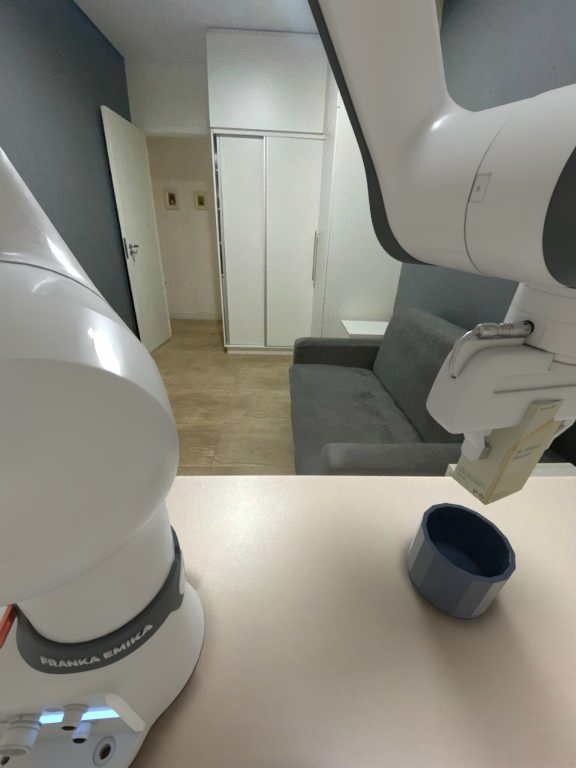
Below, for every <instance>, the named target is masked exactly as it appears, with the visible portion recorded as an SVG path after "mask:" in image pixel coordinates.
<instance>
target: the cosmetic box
mask: <svg viewBox="0 0 576 768" xmlns="http://www.w3.org/2000/svg"><path fill="white" fill-rule="evenodd" d="M563 401H564V400H560V401H542V402H531V404H530V406H529V408H528V409H527V411H526V413H525V415H524V417H523V419H522V421H521V422H520V423H519V424H518V425H517V426H514V427H506V428H498V429H493V430H492V432H491V434H490V435H488V436H484V442H485V443H487V444H488V445H489V446H490V447H491V449H490V451H489V453H488V454H487V457H486V458H485V459H481V460H476V461H470V460H469V459H468V458H467V457H466V456H465V455H464V454H462V453H461V454H460V456H459V458H458V461H457V464H456V466H455V469H454V471H453V473H452V474H451V478H452V479H453V480H454V481H456V482H457V483H458V484H459V485H460V486H461V487H462V488H463V489H465V490H466V491H467V492H468V493H470V494H471V495H472V496H473V497H474V498H475V499H477V500H478V501H479V502H480V503H481V504H483V505H484V506H488V505H490V504H492V503H495V502H498V501H499V500H502V499H504V498H506V497H509V496H511V495H513V494H515V493H518V492H520V491H522V489H524V486H525V485H526V483H527V482H528V480H529V479H530V476H531V474H532V473H533V471H534V470H535V468H536V467H537V465H538V463H539V461H540V460H541V458H542V456H543V454H545V451H546V450H547V449H546V448H547V446H548V444H549V443H550V441H551V439H552V437H553V436H554V434H555V432H556V431H557V429H558V427H559V425H560V424H561V422H562V420H560V421H554V416H555V414H556V413H557V411H558V410H559V408H560V406H561V404H562V403H563ZM545 449H546V450H545Z"/></svg>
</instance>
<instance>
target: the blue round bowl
mask: <svg viewBox="0 0 576 768" xmlns="http://www.w3.org/2000/svg"><path fill="white" fill-rule="evenodd" d="M516 563H517V561H516V553H515V550H514V548H513V547H512V544H511V543H510V540H509V538H508V537H507V536H506V535H505V534H504V533H503V532H502V531H501V530H500V529H499V528H498V526H497V525H496V524H495V523H494V522H493V521H491V520H490V519H488V518H486V517H485V516H484V515H482V514H481V513H479V512H478V511H476V510H474V509H471V508H469V507H467V506H464V505H461V504H457V503H452V502H451V503H450V502H442V503H435V504H432V505H431V506H429V508H427V509H426V510H425V511H424V512H423V514H422V516H421V518H420V521H419V524H418V525H417V529H416V531H415V533H414V536H413V538H412V541H411V543H410V546H409V549H408V552H407V556H406V568H407V572H408V575H409V577H410V580H411V582H412V584H413V585H414V586H415V588H416V589H417V591H418V592H419V593H420V595H421V596H422V597H423V598H424V599H425V600H426V601H427V602H428V603H429V604H430V605H432V606H433V607H435V608H436V609H437V610H439V611H440V612H442V613H445V614H446V615H449V616H451V617H455V618H458V619H474V618H478V617H480V616H481V615H482V614H484V613H486V611H487V609H488V608H489V607H490V605H491V604H492V602H493V601H494V600H495V599H496V597H497V596H498V595H499V593H500V591H501V590H502V589H503V588H504V586H505V585H506V583H507V582H508V580H509V579H511V576H512V575H513V574H514V573H515V571H516V569H517V565H516Z"/></svg>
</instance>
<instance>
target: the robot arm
mask: <svg viewBox="0 0 576 768" xmlns="http://www.w3.org/2000/svg"><path fill="white" fill-rule="evenodd" d="M307 3H308V6H309V10H310V11H311V14H312V17H313V20H314V21H313V22H314V23H315V26H316V29H317V32H318V35H319V38H320V41H321V44H322V46H323V49H324V52H325V54H326V57H327V60H328V64H329V66H330V69H331V72H332V75H333V78H334V80H335V84H336V86H337V89H338V91H339V95H340V97H341V100H342V103H343V106H344V109H345V111H346V114H347V118H348V120H349V122H350V123H349V124H350V126H351V128H352V132H353V135H354V136H355V140H356V143H357V146H358V149H359V152H360V156H361V159H362V163H363V167H364V168H363V169H364V174H365V179H366V187H367V197H368V207H369V214H370V220H371V225H372V228H373V231H374V235H375V237H376V239H377V242H378V243H379V245H380V247H381V248H382V249H383V250H384V252H385V253H387V255H388V256H389V257H391V258H392V259H393V260H395V261H398V262H401V263H404V264H409V265H410V264H411V265H419V266H431V267H443V268H447V269H452V270H458V271H461V272H466V273H471V274H475V275H480V276H485V277H491V278H499V279H503V280H507V281H512V282H518V286H517V288H516V290H515V293H514V295H513V298H512V300H511V303H510V305H509V307H508V310H507V312H506V315H505V317H504V320H503V322H502V323H495V322H483V323H479V324H477V325H476V326H475V327H474V329H472V330H470V331H468V332H467V333H464V335H463V336H460V337H459V338H458V339H457V340H455V341H456V342H455V343H454V345H453V347H452V349H451V350H450V351H449V353H448V355H447V356H446V358H445V360H444V362H443V363H442V365H441V368H440V369H439V372H438V374H437V375H436V378H435V380H434V382H433V384H432V387H431V389H430V391H429V393H428V397H427V399H426V402H425V408H426V411H427V412H428V414H429V416H430V417H432V418H433V420H435V421H436V422H437V424H438V425H440V426H441V427H442V428H443V429H444V430H445V431H447V433H450V434H452V435H458V434H463V437H464V439H463V442H462V445H461V447H460V451H461V454H464V455H465V456H466V457H467V458H468V459H469V460H470V461H476V460H481V459H485V458H486V457H487V454H488V453H489V451H490V449H491V447H490V446H489V445H488V444H487V443H485V442H484V436H488V435H490V434H491V432H492V430H493V429H498V428H506V427H514V426H517V425H518V424H519V423H520V422H521V421H522V419H523V417H524V415H525V413H526V411H527V409H528V408H529V406H530V404H531V402H542V401H560V400H564V401H563V403H562V404H561V406H560V408H559V410H558V411H557V413H556V414H555V416H554V421H560V420H562V422H561V424H560V425H559V427H558V429H557V431H556V432H555V434H554V436H553V437H552V439H551V441H550V443H549V444H548V446H547V448H546V449H545V451H546V450H548V449H549V448H550V446H551V444H552V443H553V441H554V440H555V439H556V438H558V436H560V435H561V434H563V433H564V432H565V431H567V429H569V428H570V427H572V426H573V425H574V423H575V422H576V83H573V84H568V85H564V86H561V87H557V88H554V89H549V90H547V91H544V92H542V93H539V94H537V95H535V96H532V97H529V98H525V99H520V100H517V101H514V102H510V103H505V104H502V105H497V106H493V107H491V108H487V109H483V110H479V111H472V110H468V109H466V108H463V107H462V106H460V105H459V104H458V103H456V102H455V101H454V100H453V98H452V97H451V95H450V93H449V92H448V88H447V82H446V75H445V69H444V68H445V67H444V60H443V59H444V58H443V51H442V43H441V36H440V28H439V27H440V26H439V21H438V12H437V6H436V0H307ZM174 416H175V415H174V413H173V409H172V405H171V403H170V398H169V396H168V393H167V389H166V387H165V384H164V381H163V378H162V376H161V372H160V370H159V368H158V365H157V363H156V361H155V360H154V358H153V356H152V354H150V352H149V351H148V349H147V347H145V345H144V344H143V343H142V341H140V339H138V337H137V336H136V335H135V334H134V332H133V331H132V330H131V328H129V326H127V324H126V323H125V321H124V320H123V319H122V318H121V317H120V316H119V314H118V313H117V312H116V310H115V309H114V308H113V307H112V306H111V305H110V303H109V302H108V301H107V300H106V299H105V297H104V296H103V294H102V293H101V292H100V290H99V289H98V288H97V287H96V285H95V284H94V282H93V281H92V279H91V278H90V277H89V276H88V273H86V271H85V270H84V268H83V267H82V265H81V264H80V263H79V260H78V259H77V258H76V256H75V255H74V254H73V252H72V251H71V249H70V248H69V246H68V245H67V243H66V242H65V241H64V239H63V238H62V236H61V235H60V233H59V232H58V230H57V229H56V227H55V226H54V224H53V223H52V222H51V220H50V218H49V217H48V215H47V214H46V212H45V211H44V210H43V208H42V206H41V205H40V203H39V202H38V201H37V199H36V198H35V196H34V195H33V193H32V191H31V190H30V189H29V187H28V186H27V184H26V183H25V181H24V179H23V178H22V177H21V175H20V173H19V172H18V171H17V168H15V166H14V165H13V163H12V162H11V160H10V159H9V158H8V156H7V154H6V153H5V151H4V150H3V149H2V147H1V146H0V768H129V767H130V765H132V763H133V761H134V759H135V758H136V756H137V755H138V753H139V751H140V750H141V747H142V746H143V744H144V741H145V739H146V738H147V735H148V734H149V732H150V729H151V728H152V727H153V725H154V724H155V722H156V721H157V720H158V718H160V716H161V715H162V714H163V713H164V712H165V711H166V710H167V709H168V707H170V705H171V704H172V703H173V702H174V701H175V699H177V697H178V696H179V695H180V693H181V692H182V690H183V689H184V687H185V686H186V685H187V683H188V681H189V680H190V678H191V676H192V674H193V672H194V670H195V667H196V666H197V663H198V660H199V658H200V655H201V652H202V648H203V644H204V638H205V629H206V621H205V620H206V618H205V611H204V607H203V603H202V600H201V598H200V596H199V594H198V592H197V591H196V589H195V588H194V587H193V585H191V584H190V582H188V581H187V569H186V564H185V558H184V554H183V550H182V549H181V544H180V541H179V538H178V534H177V532H176V530H175V529H174V527H173V525H172V524H171V521H170V517H169V511H168V510H169V509H168V505H167V501H166V499H167V497H168V495H169V493H170V491H171V490H172V487H173V485H174V482H175V479H176V477H177V473H178V469H179V463H180V453H181V452H180V451H181V450H180V449H181V448H180V439H179V433H178V430H177V425H176V422H175V417H174ZM108 747H110V751H109V753H108V755H107V756H106V757H105V758H102V755H103V752H104V751H105V750H106V748H108Z"/></svg>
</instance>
